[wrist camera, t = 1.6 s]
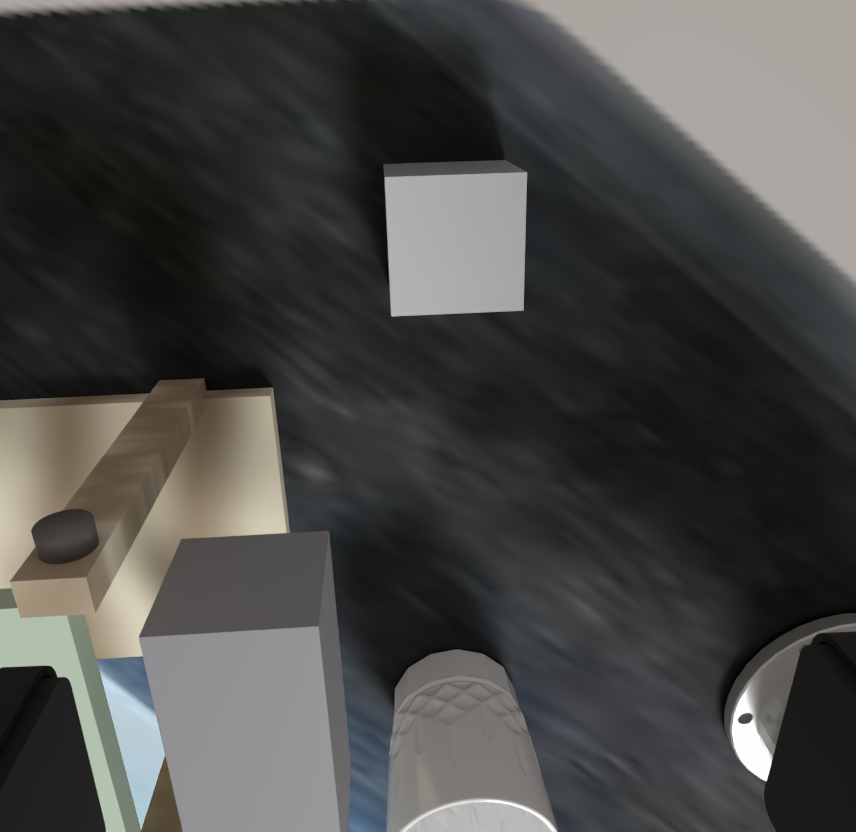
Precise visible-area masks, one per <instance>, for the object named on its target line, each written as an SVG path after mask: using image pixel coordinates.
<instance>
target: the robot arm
mask: <svg viewBox="0 0 856 832" xmlns="http://www.w3.org/2000/svg"><path fill="white" fill-rule="evenodd" d="M724 727H725V731H726V734H727V738H728V741H729V743H730V744H731V746H732V748H733V750H734V752H735V754H736V756H737V758H738V759H739V760H740V761H741V763H742V764H743V765H744V766H745V768H746V769H747V770H749V771H750V772H751V773H753V774H754V775H755V776H757V777H758V778H760V779H762V780H764V781H766V785H765V791H764V799H765V805H766V809H767V813H768V816H769V818H770V820H771V822H772V824H773V826H774V828H775V830H776V832H856V613H849V614H839V615H835V616H830V617H825V618H821V619H817V620H815V621H812V622H809V623H807V624H804V625H801V626H798V627H797V628H795V629H793V630H791V631H789V632H787V633H785V634H783V635H782V636H780V637H778V638H777V639H775V640H774V641H773V642H771V643H770V644H769V645H767V646H766V647H764V648H763V649H762V650H761V651H760V652H759V653H758V654H757V655H756V656H755V657H754V658H753V659H752V660H751V661H750V662H749V663H748V664H747V665H746V666H745V667H744V669H743V670H742V672H741V673H740V674H739V676H738V677H737V678H736V680H735V682H734V684H733V686H732V688H731V690H730V693H729V695H728V698H727V702H726V706H725V710H724ZM0 832H106V827H105V822H104V817H103V813H102V809H101V805H100V801H99V797H98V793H97V789H96V785H95V781H94V776H93V772H92V768H91V764H90V760H89V756H88V752H87V748H86V744H85V740H84V735H83V731H82V727H81V723H80V719H79V715H78V711H77V707H76V703H75V699H74V694H73V690H72V686H71V683H70V681H69V679H68V678H67V677H57V674H56V672H55V670H54V669H53V668H52V666H47V665H46V666H23V667H2V668H0Z"/></svg>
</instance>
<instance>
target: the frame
mask: <svg viewBox="0 0 856 832" xmlns="http://www.w3.org/2000/svg"><path fill="white" fill-rule="evenodd" d="M278 533H290V527H289V519H288V510H287V502H286V493H285V485H284V476H283V468H282V459H281V451H280V443H279V434H278V426H277V417H276V409H275V400H274V392H273V388H254V389H232V390H211V391H206V385H205V379H204V378H201V379H179V380H159V382H158V383H157V384H156V386H155V387H154V388H153V390H152V391H151V392H150V393H148V394H126V395H105V396H84V397H63V398H42V399H21V400H0V589H5V588H12V592H13V595H14V598H15V601H16V605H17V608H18V611H19V615H20V618H31V617H48V616H65V615H81V614H85V618H86V621H87V625H88V629H89V633H90V637H91V641H92V644H93V648H94V652H95V656H96V659H105V658H121V657H137V656H143V655H142V651H141V646H140V642H139V635H140V633H141V631H142V628H143V626H144V624H145V621H146V619H147V617H148V615H149V612H150V610H151V608H152V605H153V603H154V601H155V598H156V596H157V594H158V591H159V589H160V587H161V585H162V582H163V580H164V578H165V575H166V573H167V571H168V568H169V566H170V564H171V562H172V559H173V557H174V555H175V552H176V550H177V548H178V545H179V543H180V541H181V539H189V538H207V537H225V536H243V535H260V534H278ZM141 832H183V830H182V826H181V821H180V817H179V813H178V808H177V804H176V800H175V795H174V791H173V786H172V782H171V778H170V773H169V769H168V765H167V760H166V756H165V758H164V761H163V764H162V767H161V770H160V773H159V776H158V780H157V783H156V786H155V789H154V792H153V795H152V799H151V802H150V805H149V808H148V811H147V814H146V817H145V821H144V824H143V827H142V830H141Z"/></svg>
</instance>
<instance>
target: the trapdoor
mask: <svg viewBox="0 0 856 832" xmlns="http://www.w3.org/2000/svg"><path fill="white" fill-rule="evenodd" d="M139 642H140V646H141V651H142V655H143V659H144V664H145V668H146V673H147V677H148V681H149V686H150V690H151V694H152V699H153V703H154V708H155V712H156V716H157V721H158V725H159V729H160V734H161V738H162V743H163V747H164V751H165V756H166V760H167V765H168V769H169V773H170V778H171V782H172V786H173V791H174V795H175V800H176V804H177V808H178V813H179V817H180V821H181V826H182V830H183V832H348V823H349V797H350V772H351V761H350V751H349V740H348V729H347V718H346V708H345V697H344V686H343V676H342V665H341V654H340V643H339V633H338V622H337V611H336V601H335V590H334V579H333V568H332V558H331V547H330V536H329V531H314V532H296V533H278V534H260V535H243V536H225V537H207V538H189V539H181V541H180V543H179V545H178V548H177V550H176V552H175V555H174V557H173V559H172V562H171V564H170V566H169V568H168V571H167V573H166V575H165V578H164V580H163V582H162V585H161V587H160V589H159V591H158V594H157V596H156V598H155V601H154V603H153V605H152V608H151V610H150V612H149V615H148V617H147V619H146V621H145V624H144V626H143V628H142V631H141V633H140V635H139ZM46 665H47V666H52V668H53V669H54V670H55V672H56V674H57V677H67V678H68V679H69V681H70V683H71V686H72V690H73V694H74V699H75V703H76V707H77V711H78V715H79V719H80V723H81V727H82V731H83V735H84V740H85V744H86V748H87V752H88V756H89V760H90V764H91V768H92V772H93V776H94V781H95V785H96V789H97V793H98V797H99V801H100V805H101V809H102V813H103V817H104V822H105V827H106V832H141V829H140V825H139V821H138V817H137V813H136V809H135V806H134V802H133V798H132V794H131V790H130V786H129V783H128V779H127V775H126V771H125V767H124V763H123V760H122V756H121V752H120V748H119V744H118V740H117V737H116V733H115V729H114V725H113V721H112V717H111V714H110V710H109V706H108V702H107V698H106V694H105V690H104V687H103V683H102V679H101V675H100V671H99V667H98V664H97V660H96V656H95V652H94V648H93V644H92V641H91V637H90V633H89V629H88V625H87V621H86V618H85V614H81V615H65V616H48V617H31V618H20V615H19V611H18V608H17V605H16V601H15V598H14V595H13V592H12V588H5V589H0V668H2V667H23V666H46Z"/></svg>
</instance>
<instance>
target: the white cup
mask: <svg viewBox="0 0 856 832" xmlns="http://www.w3.org/2000/svg"><path fill="white" fill-rule="evenodd" d="M386 832H559V831H558V828H557V825H556V821H555V818H554V815H553V811H552V808H551V805H550V801H549V798H548V794H547V791H546V787H545V784H544V780H543V777H542V774H541V770H540V767H539V763H538V760H537V756H536V753H535V750H534V747H533V744H532V741H531V738H530V735H529V732H528V729H527V725H526V722H525V719H524V717H523V714H522V712H521V710H520V708H519V705H518V701H517V697H516V694H515V690H514V687H513V685H512V683H511V681H510V679H509V677H508V675H507V673H506V671H505V669H504V667H503V666H501V665H500V664H498V663H497V662H495V661H494V660H492V659H490V658H489V657H487V656H486V655H484V654H482V653H477V652H471V651H465V650H459V649H455V650H449V651H444V652H439V653H434V654H430V655H428V656H426V657H425V658H423V659H421V660H420V661H418V662H417V663H415V664H413V665H412V666H410V667H409V668H408V669H407V670H406V672H405V673H404V675H403V676H402V678H401V679H400V681H399V683H398V684H397V686H396V687H395V701H394V721H393V730H392V733H391V737H390V753H389V772H388V797H387V823H386Z"/></svg>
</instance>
